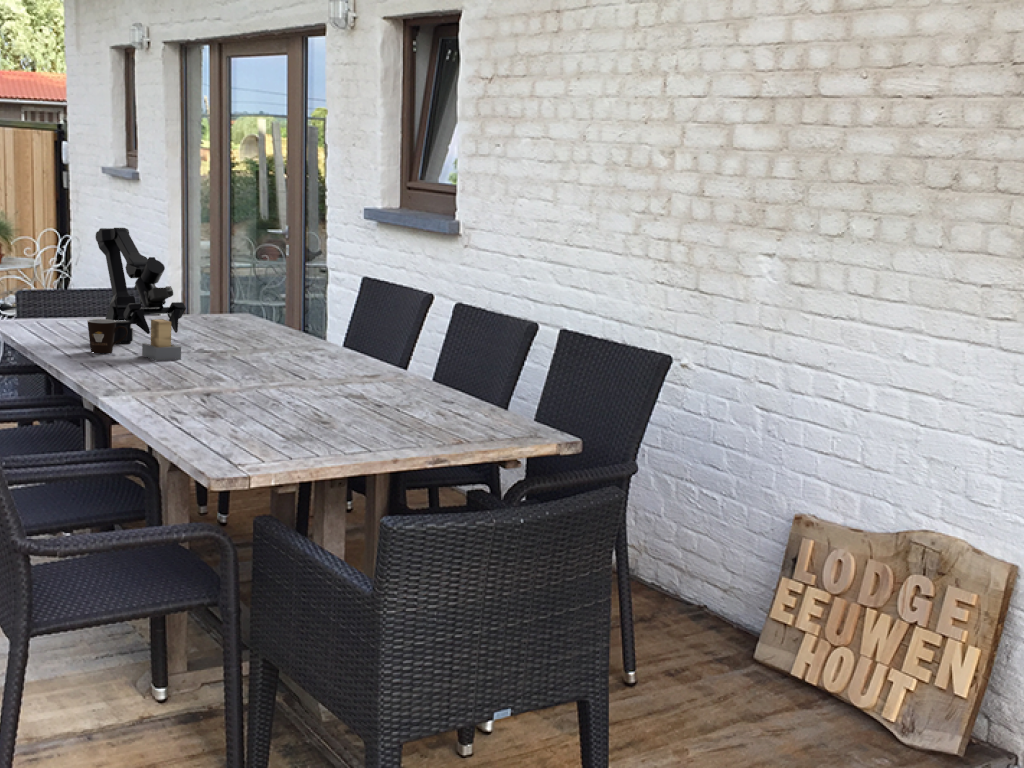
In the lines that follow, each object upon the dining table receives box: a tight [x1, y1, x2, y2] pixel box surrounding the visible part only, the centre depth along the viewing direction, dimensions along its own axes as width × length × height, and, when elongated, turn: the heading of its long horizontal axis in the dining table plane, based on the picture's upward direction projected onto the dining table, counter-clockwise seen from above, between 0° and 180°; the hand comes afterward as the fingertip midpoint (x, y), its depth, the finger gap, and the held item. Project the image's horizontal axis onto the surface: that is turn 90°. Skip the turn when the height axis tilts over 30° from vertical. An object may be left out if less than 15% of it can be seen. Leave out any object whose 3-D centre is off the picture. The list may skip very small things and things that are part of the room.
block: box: [150, 318, 172, 347], centre depth 379 cm, size 6×4×11 cm, turn 41°
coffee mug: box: [87, 318, 128, 354], centre depth 380 cm, size 12×9×10 cm
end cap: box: [141, 342, 182, 362], centre depth 379 cm, size 10×8×4 cm
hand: (162, 332), depth 377 cm, fingers open, 9 cm apart
